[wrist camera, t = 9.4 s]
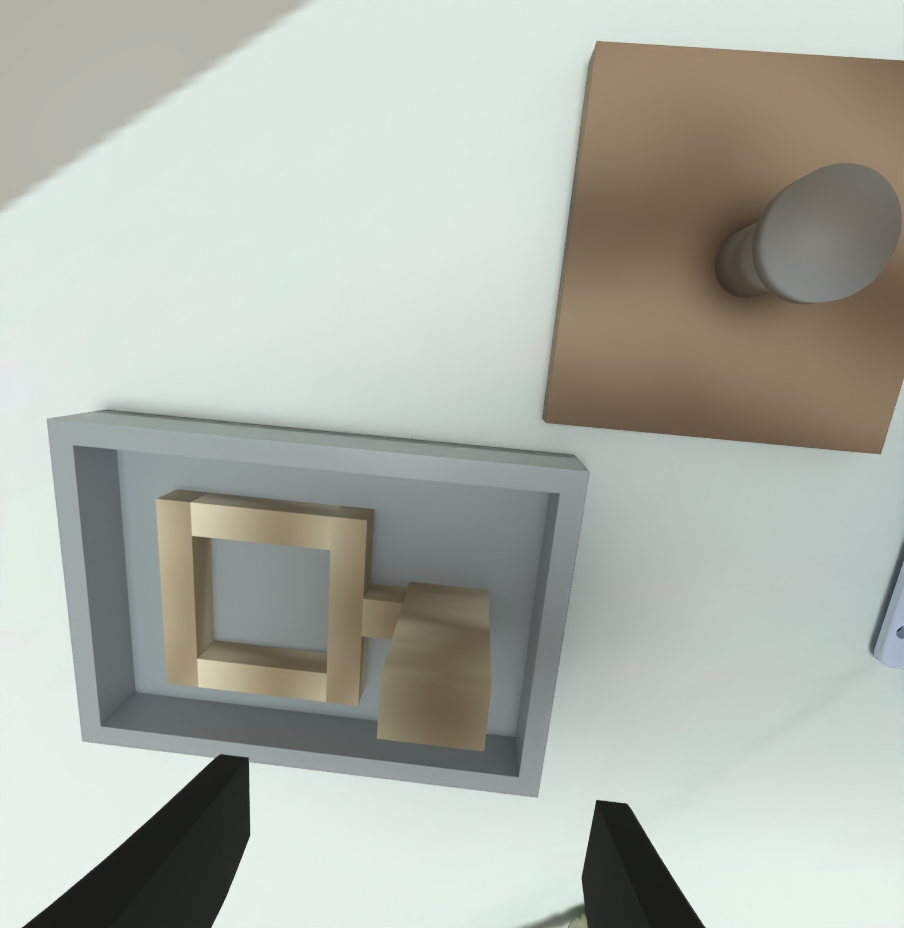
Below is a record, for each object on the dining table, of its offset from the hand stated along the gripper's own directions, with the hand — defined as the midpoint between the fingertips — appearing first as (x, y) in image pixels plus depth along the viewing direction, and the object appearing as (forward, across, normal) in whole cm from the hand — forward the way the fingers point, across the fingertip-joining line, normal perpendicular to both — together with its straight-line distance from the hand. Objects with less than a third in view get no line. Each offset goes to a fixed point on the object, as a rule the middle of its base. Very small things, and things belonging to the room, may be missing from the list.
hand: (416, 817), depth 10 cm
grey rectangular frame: (+9, +5, 0) cm, 11 cm away
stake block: (+9, -8, -13) cm, 18 cm away
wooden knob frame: (+9, +4, 0) cm, 10 cm away
